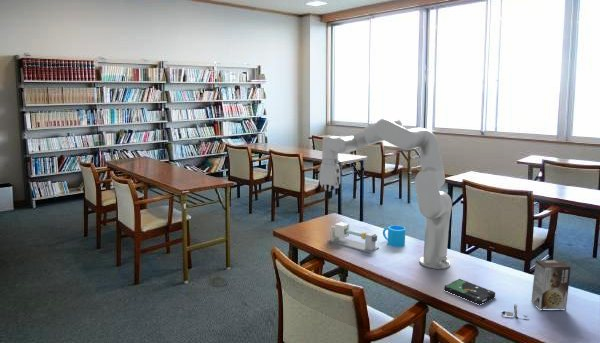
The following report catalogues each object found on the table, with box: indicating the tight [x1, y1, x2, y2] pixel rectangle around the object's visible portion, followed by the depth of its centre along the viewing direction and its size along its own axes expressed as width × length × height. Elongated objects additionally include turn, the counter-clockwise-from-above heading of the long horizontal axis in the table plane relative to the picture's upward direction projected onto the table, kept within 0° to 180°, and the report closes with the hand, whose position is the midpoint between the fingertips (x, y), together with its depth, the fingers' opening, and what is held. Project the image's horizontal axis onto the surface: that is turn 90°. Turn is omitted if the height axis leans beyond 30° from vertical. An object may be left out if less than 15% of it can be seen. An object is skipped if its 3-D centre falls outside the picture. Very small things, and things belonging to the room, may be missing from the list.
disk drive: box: [443, 278, 496, 306], centre depth 167 cm, size 10×3×15 cm
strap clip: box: [503, 304, 518, 318], centre depth 151 cm, size 8×3×4 cm, turn 73°
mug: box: [382, 224, 407, 248], centre depth 220 cm, size 12×8×8 cm
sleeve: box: [334, 221, 350, 238], centre depth 221 cm, size 5×5×6 cm
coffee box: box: [530, 259, 572, 310], centre depth 157 cm, size 9×6×16 cm
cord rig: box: [327, 225, 380, 254], centre depth 217 cm, size 24×8×8 cm, turn 50°
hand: (328, 198), depth 223 cm, fingers closed
